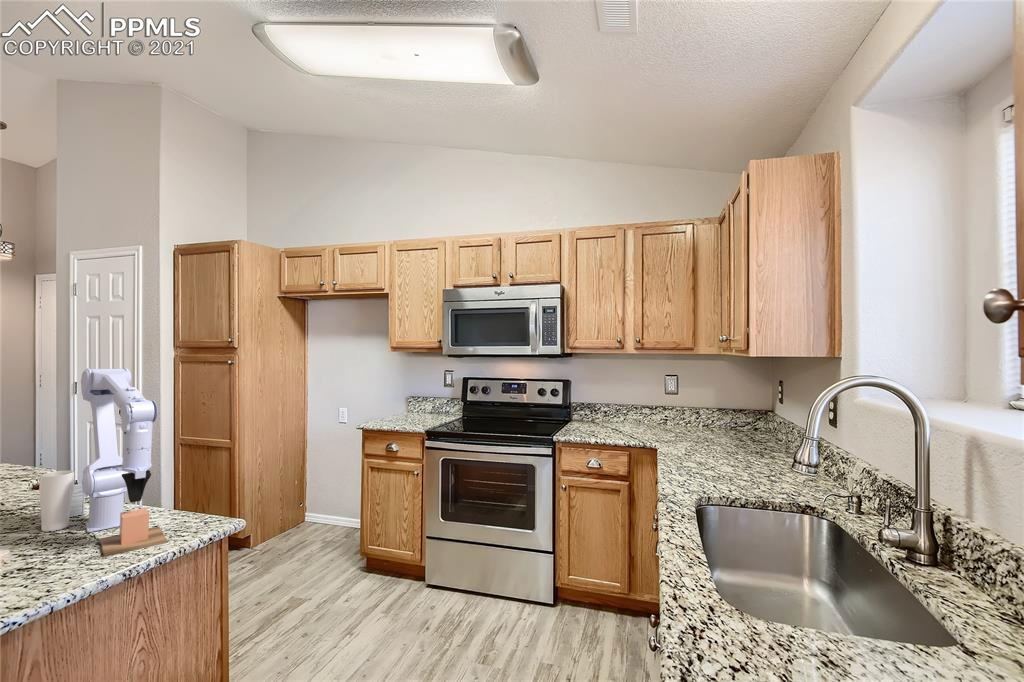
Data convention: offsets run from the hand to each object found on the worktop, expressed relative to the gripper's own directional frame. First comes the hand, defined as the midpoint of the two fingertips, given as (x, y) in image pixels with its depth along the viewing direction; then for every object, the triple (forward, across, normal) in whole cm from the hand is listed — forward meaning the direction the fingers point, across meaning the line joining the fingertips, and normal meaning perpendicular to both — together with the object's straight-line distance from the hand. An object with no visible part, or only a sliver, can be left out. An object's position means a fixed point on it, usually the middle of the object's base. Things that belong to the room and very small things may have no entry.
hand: (135, 501), depth 116 cm
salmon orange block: (+10, 0, 0) cm, 10 cm away
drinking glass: (+11, -25, -14) cm, 31 cm away
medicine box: (+11, -35, -12) cm, 39 cm away
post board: (+10, 0, 0) cm, 10 cm away
